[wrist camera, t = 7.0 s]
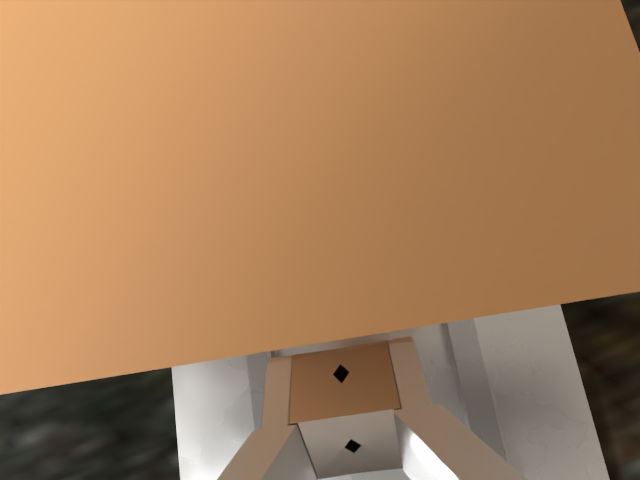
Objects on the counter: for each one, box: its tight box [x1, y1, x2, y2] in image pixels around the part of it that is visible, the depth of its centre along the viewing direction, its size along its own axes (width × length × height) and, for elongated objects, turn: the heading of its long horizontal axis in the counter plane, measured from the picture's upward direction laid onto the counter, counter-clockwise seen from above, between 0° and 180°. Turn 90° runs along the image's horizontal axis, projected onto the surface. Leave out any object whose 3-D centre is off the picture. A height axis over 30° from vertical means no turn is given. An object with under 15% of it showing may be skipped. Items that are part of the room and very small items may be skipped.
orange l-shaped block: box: [0, 0, 640, 395], centre depth 9 cm, size 10×4×12 cm, turn 9°
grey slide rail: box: [172, 304, 610, 480], centre depth 12 cm, size 22×13×6 cm, turn 9°
